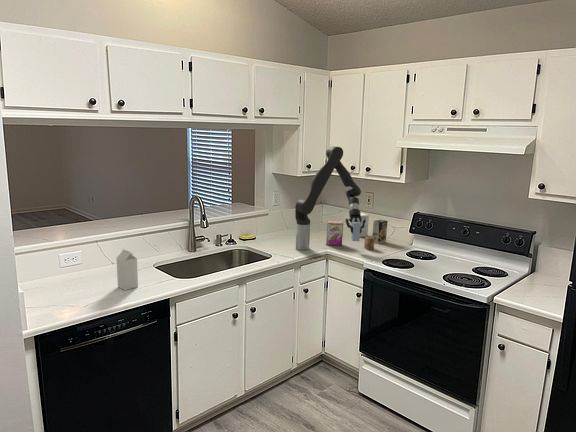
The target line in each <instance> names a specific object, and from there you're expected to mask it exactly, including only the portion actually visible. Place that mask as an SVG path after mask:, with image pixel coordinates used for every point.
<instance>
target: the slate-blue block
mask: <svg viewBox="0 0 576 432" xmlns="http://www.w3.org/2000/svg"><path fill="white" fill-rule="evenodd" d="M360 224H361V223H360V222H353V233H352V234H351V241H352V242H360V238H361V237H360Z"/></svg>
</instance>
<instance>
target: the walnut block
mask: <svg viewBox="0 0 576 432" xmlns="http://www.w3.org/2000/svg"><path fill="white" fill-rule="evenodd" d="M374 240H375V238H373V237H372V236H365V237H364V249H365V250H367V251H373V250H375V243H374Z"/></svg>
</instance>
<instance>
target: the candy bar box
mask: <svg viewBox="0 0 576 432" xmlns="http://www.w3.org/2000/svg"><path fill="white" fill-rule="evenodd" d="M326 226H327V227H326V242H325V243H326V244H325V245H326V246H340V247H341V246H342V245H343V231H344V221H331V220H329V221H327V225H326Z"/></svg>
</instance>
